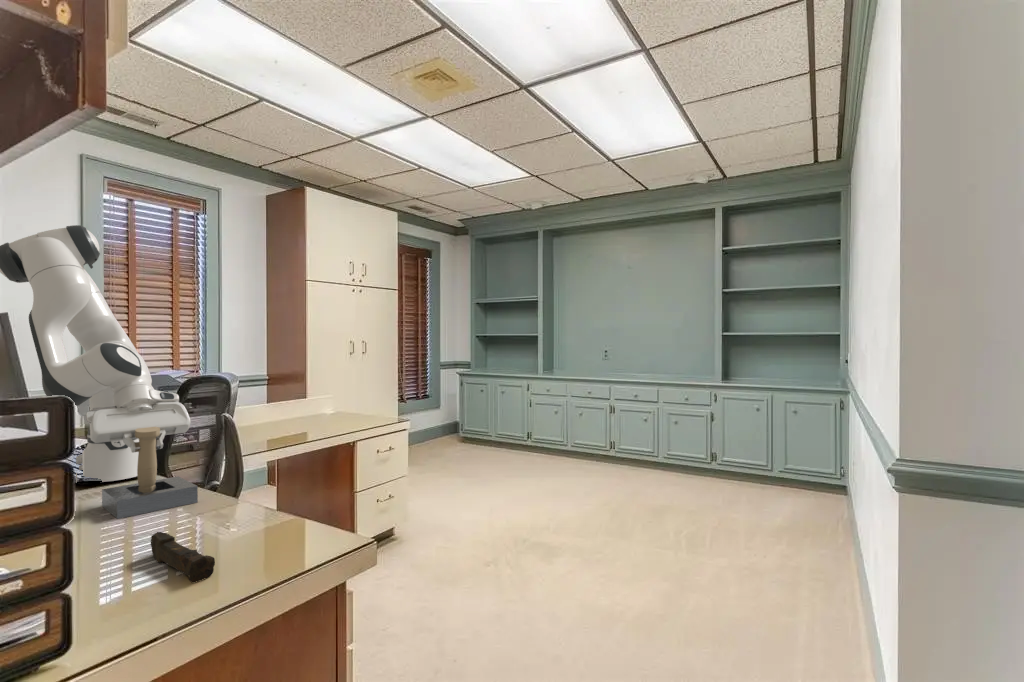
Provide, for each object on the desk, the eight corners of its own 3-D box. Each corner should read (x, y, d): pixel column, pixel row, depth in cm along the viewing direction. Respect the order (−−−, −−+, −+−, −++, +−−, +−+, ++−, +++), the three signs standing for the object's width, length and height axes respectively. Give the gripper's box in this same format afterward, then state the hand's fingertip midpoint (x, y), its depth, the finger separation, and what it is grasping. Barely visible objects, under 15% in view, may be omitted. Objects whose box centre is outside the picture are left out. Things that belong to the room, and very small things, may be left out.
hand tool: (216, 577, 88) (216, 549, 88) (189, 586, 85) (189, 557, 85) (170, 550, 100) (170, 526, 100) (145, 557, 97) (145, 532, 97)
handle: (134, 496, 124) (135, 433, 123) (134, 488, 129) (135, 427, 128) (159, 493, 126) (160, 431, 126) (158, 486, 132) (159, 425, 131)
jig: (102, 506, 126) (102, 489, 126) (178, 491, 138) (178, 476, 138) (117, 519, 117) (117, 500, 117) (197, 502, 129) (197, 485, 129)
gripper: (86, 400, 124) (95, 447, 118) (185, 393, 139) (197, 435, 133) (82, 417, 127) (91, 464, 121) (179, 409, 142) (192, 450, 136)
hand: (148, 449), depth 127 cm, fingers closed on handle, 3 cm apart
